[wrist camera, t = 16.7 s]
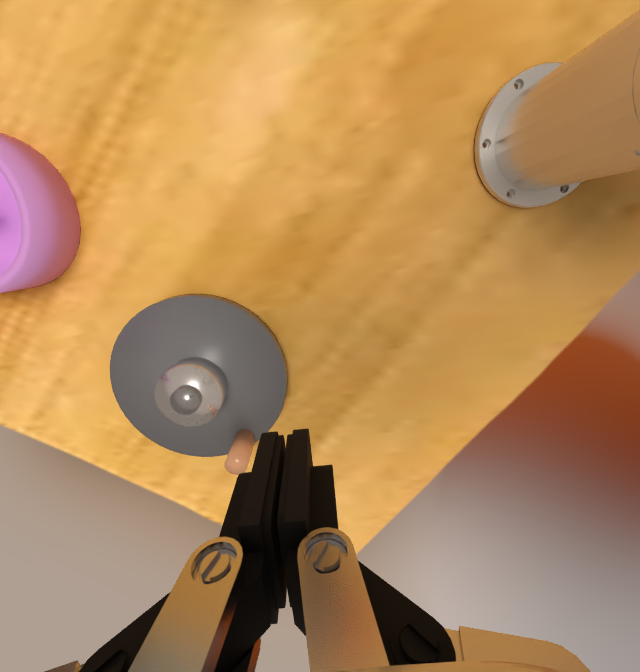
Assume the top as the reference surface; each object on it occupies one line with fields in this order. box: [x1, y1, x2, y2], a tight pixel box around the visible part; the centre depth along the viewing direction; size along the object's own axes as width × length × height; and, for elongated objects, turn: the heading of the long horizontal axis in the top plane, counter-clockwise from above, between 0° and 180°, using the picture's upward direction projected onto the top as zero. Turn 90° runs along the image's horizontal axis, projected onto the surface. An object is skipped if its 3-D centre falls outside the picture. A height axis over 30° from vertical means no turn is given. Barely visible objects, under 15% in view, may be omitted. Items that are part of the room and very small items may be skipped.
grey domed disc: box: [110, 294, 287, 475], centre depth 36 cm, size 20×20×7 cm
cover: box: [155, 357, 228, 426], centre depth 36 cm, size 7×7×4 cm
